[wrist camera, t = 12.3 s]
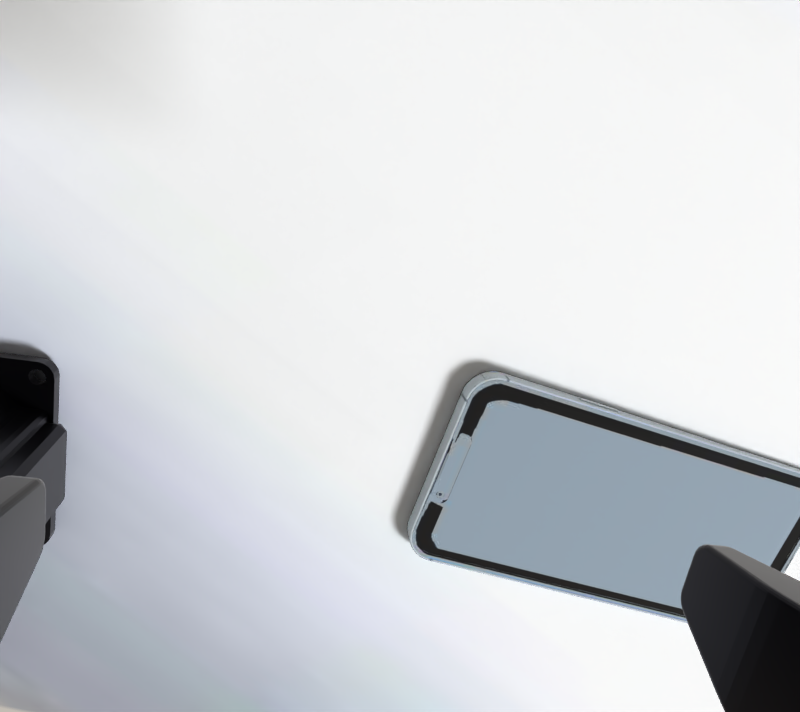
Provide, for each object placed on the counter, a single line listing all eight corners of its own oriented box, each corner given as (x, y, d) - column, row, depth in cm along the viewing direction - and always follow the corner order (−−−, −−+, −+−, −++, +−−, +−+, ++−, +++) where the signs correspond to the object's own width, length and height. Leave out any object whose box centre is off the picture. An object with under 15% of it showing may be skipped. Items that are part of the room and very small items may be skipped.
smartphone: (745, 638, 27) (400, 555, 24) (731, 622, 28) (397, 539, 25) (839, 482, 25) (478, 368, 22) (820, 470, 26) (472, 358, 23)
